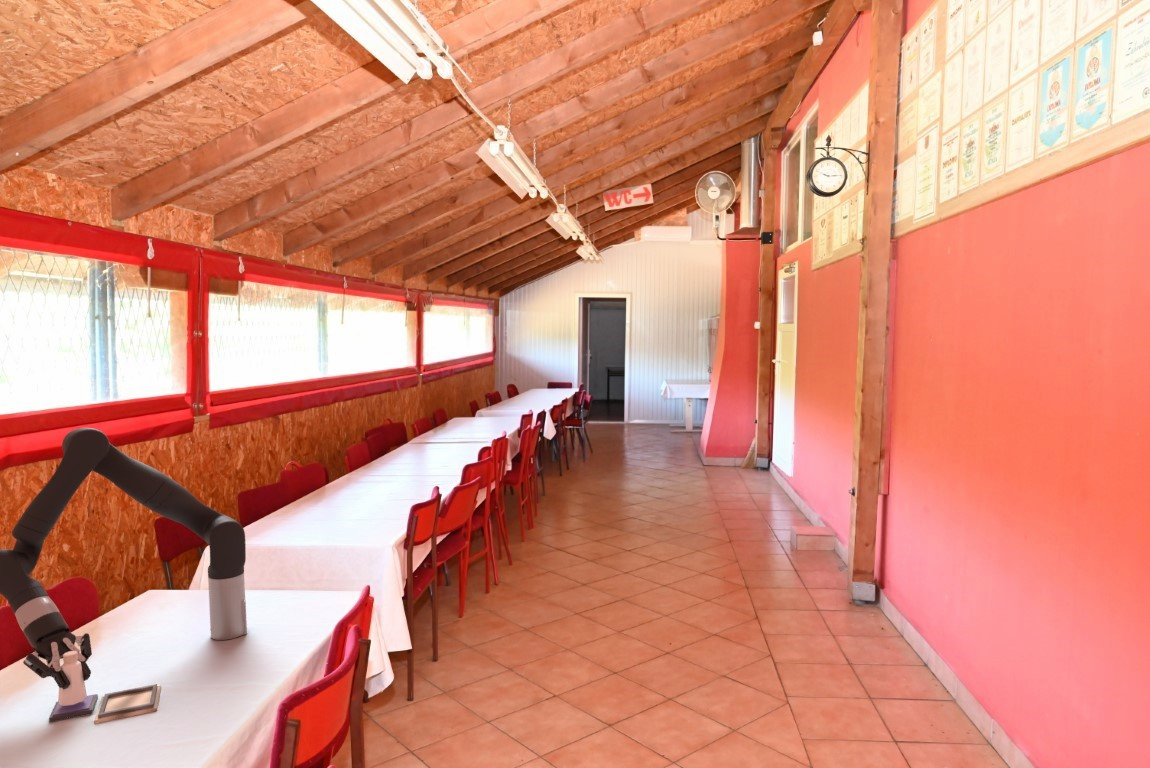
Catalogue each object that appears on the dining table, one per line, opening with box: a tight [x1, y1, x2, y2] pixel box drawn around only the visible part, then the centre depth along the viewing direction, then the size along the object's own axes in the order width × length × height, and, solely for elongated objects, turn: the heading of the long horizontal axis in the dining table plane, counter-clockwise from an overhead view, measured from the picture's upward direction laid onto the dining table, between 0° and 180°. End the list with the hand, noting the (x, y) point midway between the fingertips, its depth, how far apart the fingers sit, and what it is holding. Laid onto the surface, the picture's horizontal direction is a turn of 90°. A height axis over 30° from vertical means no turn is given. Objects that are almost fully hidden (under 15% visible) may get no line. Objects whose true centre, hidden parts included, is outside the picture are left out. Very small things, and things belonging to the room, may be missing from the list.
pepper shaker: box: [57, 651, 88, 706], centre depth 166 cm, size 5×5×11 cm
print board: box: [93, 683, 162, 724], centre depth 169 cm, size 12×12×1 cm
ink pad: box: [48, 693, 99, 723], centre depth 167 cm, size 8×8×1 cm
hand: (77, 682), depth 165 cm, fingers closed on pepper shaker, 3 cm apart
